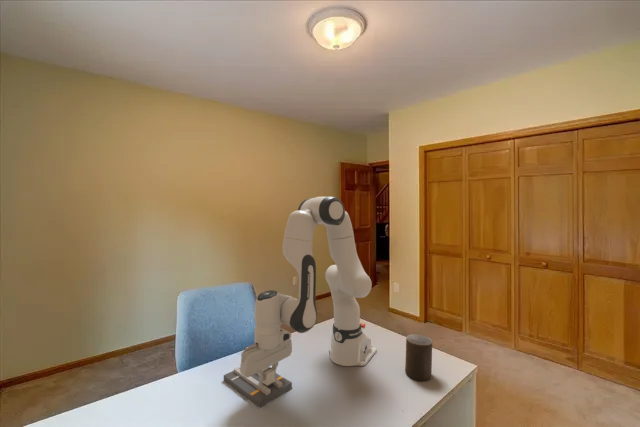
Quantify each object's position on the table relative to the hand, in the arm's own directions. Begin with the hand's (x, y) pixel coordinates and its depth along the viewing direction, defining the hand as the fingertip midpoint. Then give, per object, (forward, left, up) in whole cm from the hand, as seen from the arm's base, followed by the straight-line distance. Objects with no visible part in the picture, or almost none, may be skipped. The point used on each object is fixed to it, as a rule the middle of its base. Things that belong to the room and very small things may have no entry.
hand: (267, 377), depth 103 cm
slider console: (0, -6, -5) cm, 8 cm away
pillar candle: (-46, +35, -5) cm, 58 cm away
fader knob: (0, 0, -3) cm, 3 cm away
